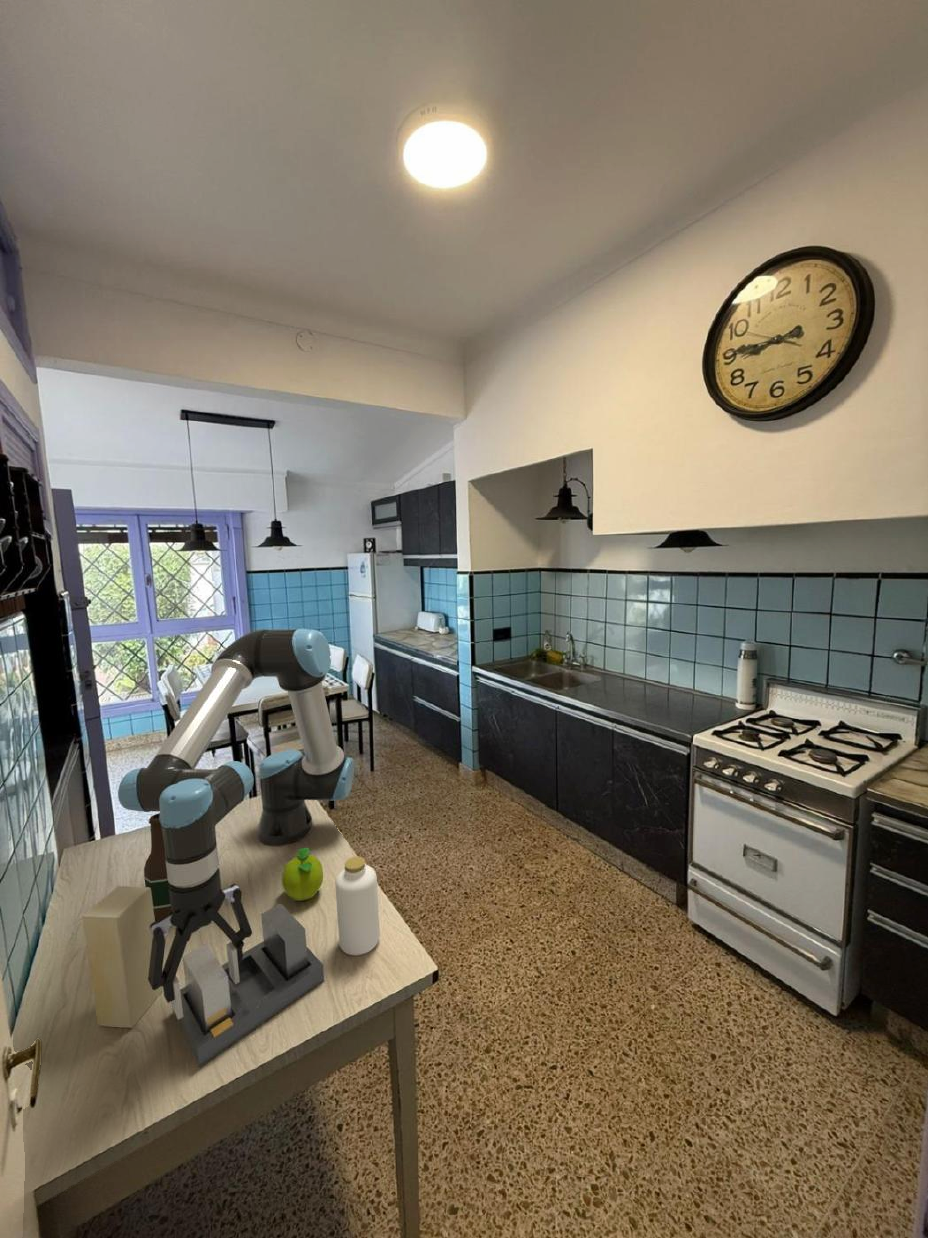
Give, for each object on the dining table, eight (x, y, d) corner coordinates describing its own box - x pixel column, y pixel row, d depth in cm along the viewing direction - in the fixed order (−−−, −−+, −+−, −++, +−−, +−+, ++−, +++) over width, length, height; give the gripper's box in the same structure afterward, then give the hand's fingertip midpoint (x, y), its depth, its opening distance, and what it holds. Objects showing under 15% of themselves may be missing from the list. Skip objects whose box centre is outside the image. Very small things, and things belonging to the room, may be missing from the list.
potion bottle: (388, 941, 103) (383, 861, 101) (353, 965, 97) (348, 881, 95) (365, 921, 109) (360, 845, 107) (331, 943, 103) (326, 863, 101)
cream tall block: (128, 986, 94) (114, 885, 91) (164, 989, 93) (151, 886, 90) (93, 1026, 86) (77, 916, 83) (132, 1029, 85) (117, 918, 83)
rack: (289, 941, 104) (285, 893, 102) (324, 981, 94) (320, 928, 93) (172, 1012, 88) (166, 957, 87) (199, 1068, 79) (192, 1007, 77)
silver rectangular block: (211, 992, 91) (206, 943, 90) (233, 1027, 84) (227, 975, 83) (188, 1007, 88) (182, 956, 87) (207, 1045, 81) (201, 990, 80)
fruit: (323, 879, 124) (320, 842, 122) (324, 904, 115) (322, 864, 114) (284, 887, 121) (281, 849, 120) (282, 913, 112) (279, 873, 111)
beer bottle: (171, 929, 108) (159, 826, 105) (141, 925, 110) (128, 823, 107) (197, 904, 116) (186, 808, 113) (168, 900, 117) (157, 805, 114)
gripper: (249, 838, 93) (259, 947, 96) (112, 896, 78) (130, 1023, 81) (266, 855, 87) (276, 970, 90) (124, 920, 72) (141, 1055, 76)
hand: (207, 995), depth 86 cm, fingers open, 8 cm apart
